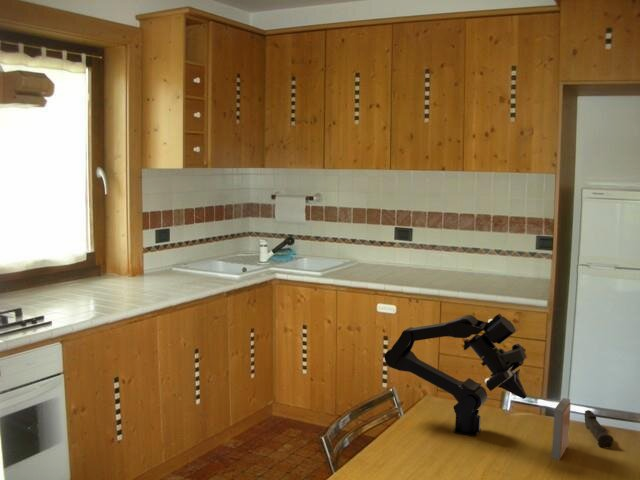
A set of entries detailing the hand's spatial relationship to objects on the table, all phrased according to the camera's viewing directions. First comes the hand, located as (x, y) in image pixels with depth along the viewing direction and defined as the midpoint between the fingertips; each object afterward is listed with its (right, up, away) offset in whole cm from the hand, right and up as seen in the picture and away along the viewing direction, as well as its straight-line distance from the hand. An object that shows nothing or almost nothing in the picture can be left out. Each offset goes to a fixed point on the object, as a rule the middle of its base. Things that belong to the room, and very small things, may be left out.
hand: (525, 397), depth 188 cm
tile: (+8, -14, -4) cm, 17 cm away
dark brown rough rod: (+23, -13, +10) cm, 28 cm away
